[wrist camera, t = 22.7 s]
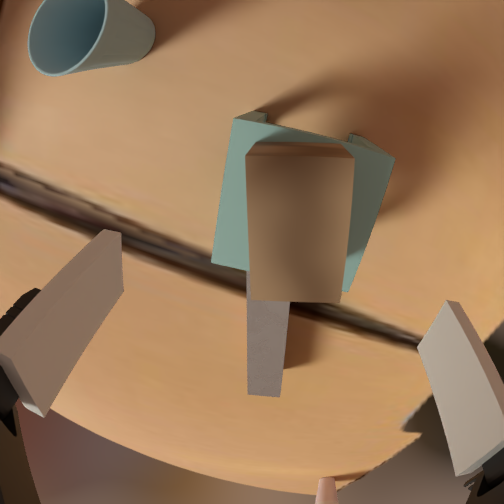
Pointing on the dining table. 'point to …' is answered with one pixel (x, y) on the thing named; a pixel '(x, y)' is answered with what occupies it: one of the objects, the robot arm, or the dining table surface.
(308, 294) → the walnut block
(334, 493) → the smoothie
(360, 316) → the dining table surface
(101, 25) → the cup
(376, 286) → the dining table surface
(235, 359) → the dining table surface
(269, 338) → the grey bar
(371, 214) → the bridge
